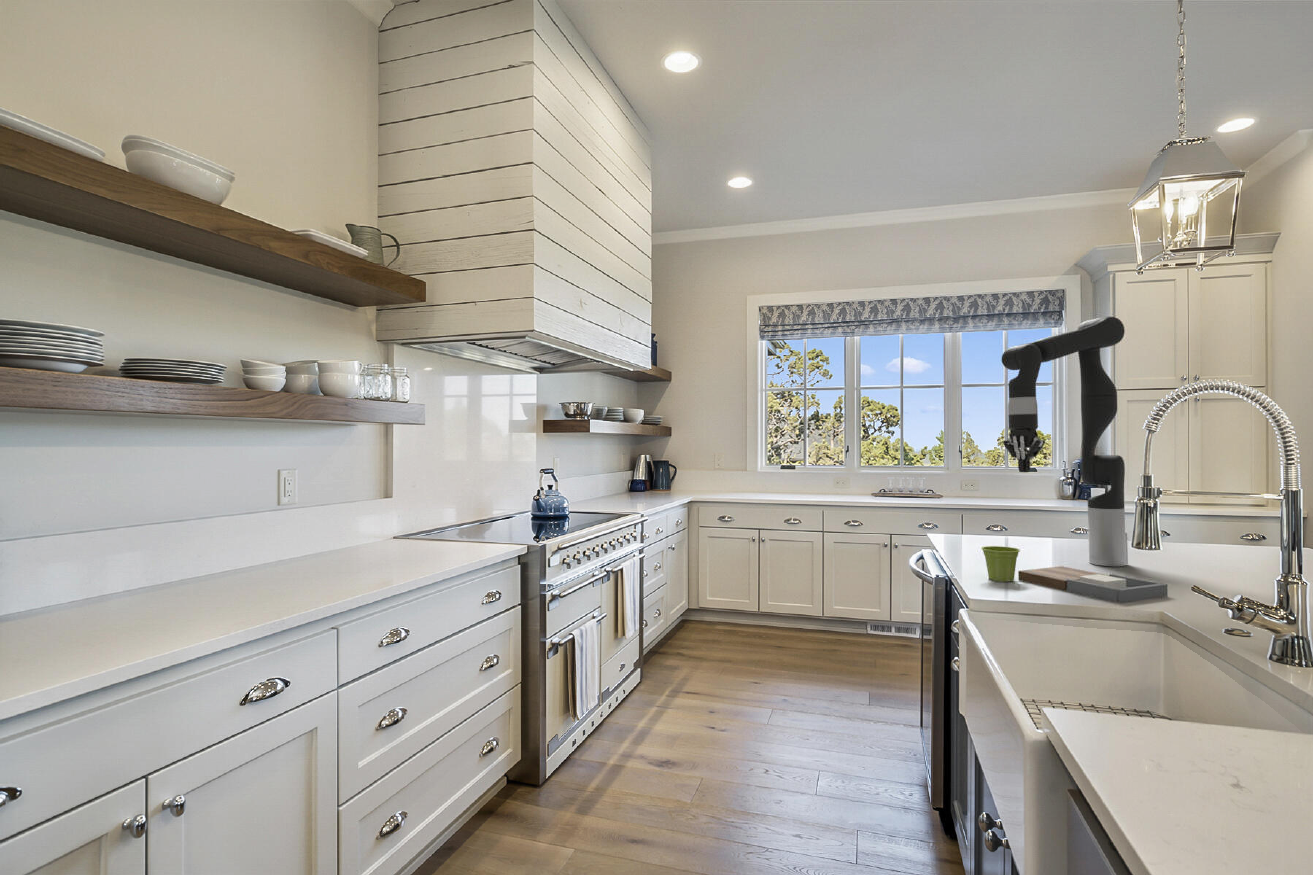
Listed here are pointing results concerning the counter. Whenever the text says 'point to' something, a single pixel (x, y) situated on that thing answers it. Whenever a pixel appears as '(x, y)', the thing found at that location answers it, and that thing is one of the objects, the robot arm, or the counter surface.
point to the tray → (1120, 590)
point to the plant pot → (1001, 562)
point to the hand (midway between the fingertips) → (1024, 472)
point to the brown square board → (1053, 576)
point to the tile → (1104, 580)
